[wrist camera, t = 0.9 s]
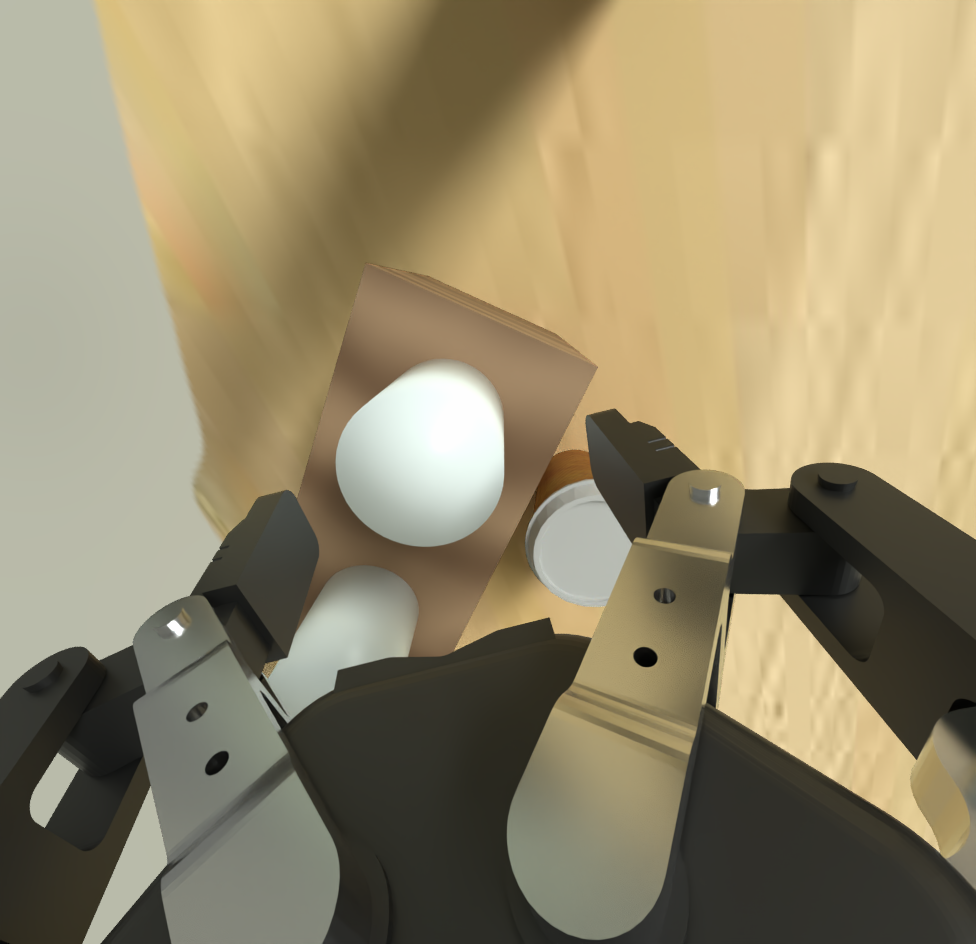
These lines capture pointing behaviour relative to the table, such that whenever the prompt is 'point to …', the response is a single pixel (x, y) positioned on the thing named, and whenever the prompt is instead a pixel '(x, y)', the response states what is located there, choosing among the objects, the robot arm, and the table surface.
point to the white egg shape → (425, 455)
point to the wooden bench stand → (527, 435)
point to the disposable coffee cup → (574, 534)
